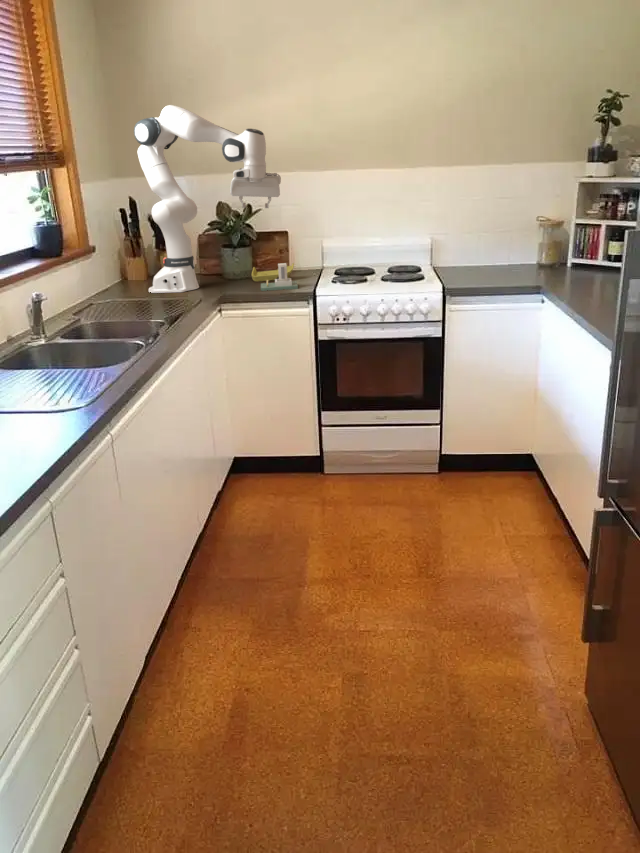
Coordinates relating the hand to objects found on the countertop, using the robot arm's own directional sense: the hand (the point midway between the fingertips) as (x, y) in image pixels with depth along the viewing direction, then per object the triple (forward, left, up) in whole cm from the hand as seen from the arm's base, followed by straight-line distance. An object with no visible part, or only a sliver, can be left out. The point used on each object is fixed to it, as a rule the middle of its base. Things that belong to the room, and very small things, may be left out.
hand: (255, 207), depth 301 cm
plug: (+10, +9, -34) cm, 36 cm away
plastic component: (+6, +32, -35) cm, 48 cm away
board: (+8, +10, -35) cm, 37 cm away
